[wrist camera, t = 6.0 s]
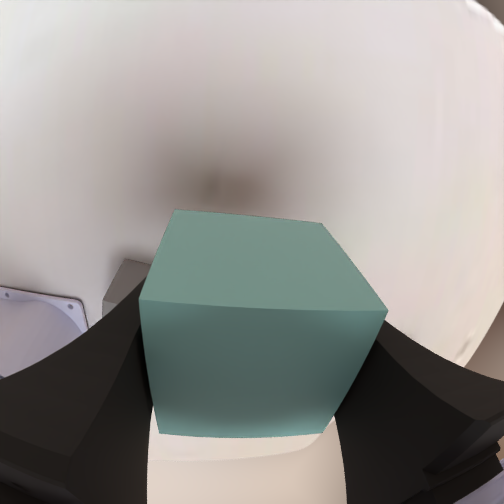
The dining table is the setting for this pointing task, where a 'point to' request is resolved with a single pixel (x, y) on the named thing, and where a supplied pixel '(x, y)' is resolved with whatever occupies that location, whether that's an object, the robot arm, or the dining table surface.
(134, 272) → the grey block
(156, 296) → the teal block
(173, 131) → the dining table surface
